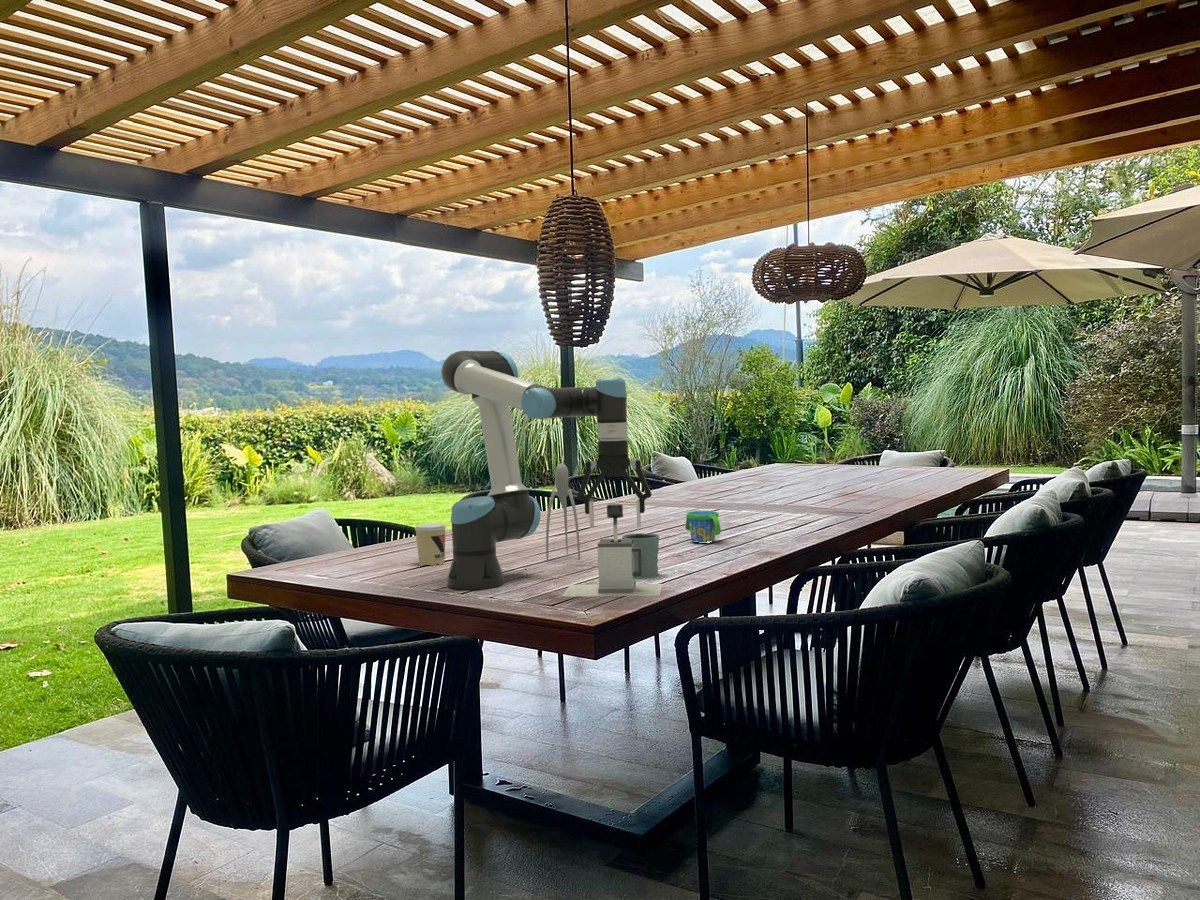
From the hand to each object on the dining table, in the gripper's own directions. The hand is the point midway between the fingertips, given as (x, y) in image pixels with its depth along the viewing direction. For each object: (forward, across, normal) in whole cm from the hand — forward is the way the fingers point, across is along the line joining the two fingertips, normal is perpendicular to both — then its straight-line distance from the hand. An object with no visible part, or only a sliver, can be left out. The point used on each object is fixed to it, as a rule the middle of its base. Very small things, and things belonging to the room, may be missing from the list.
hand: (615, 526), depth 230 cm
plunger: (+13, 0, 0) cm, 13 cm away
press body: (+16, 0, 0) cm, 16 cm away
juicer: (+17, -21, +53) cm, 60 cm away
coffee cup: (+17, -62, +47) cm, 80 cm away
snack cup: (+17, +22, +80) cm, 85 cm away
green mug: (+17, +5, +19) cm, 26 cm away
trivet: (+17, -1, 0) cm, 17 cm away
